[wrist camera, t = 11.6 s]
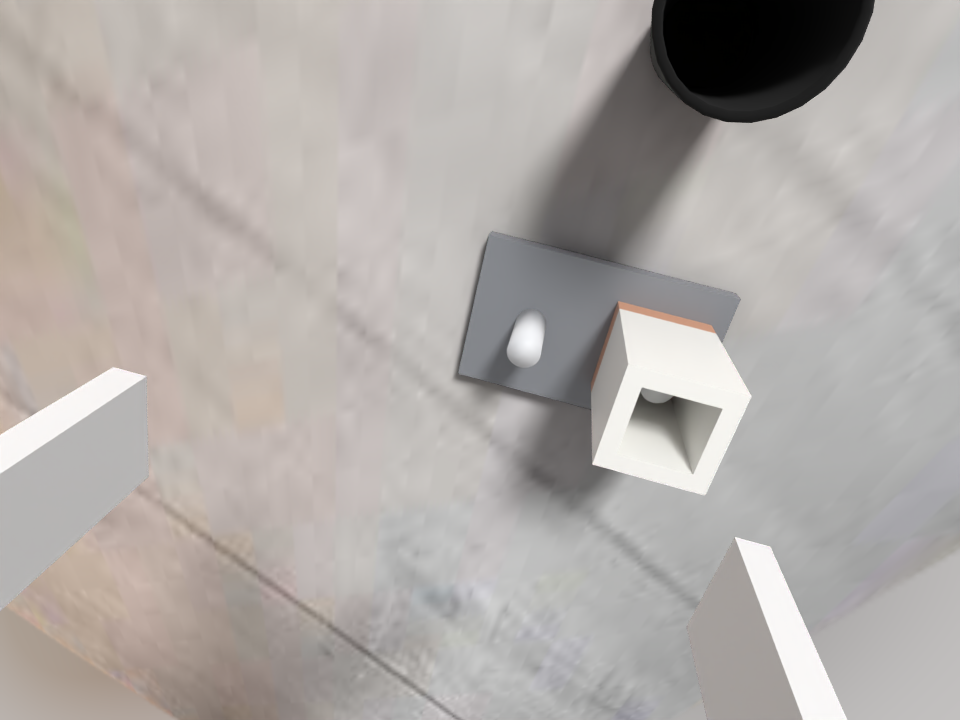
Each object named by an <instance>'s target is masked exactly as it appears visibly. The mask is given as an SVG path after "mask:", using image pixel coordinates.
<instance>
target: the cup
mask: <svg viewBox="0 0 960 720" xmlns="http://www.w3.org/2000/svg"><path fill="white" fill-rule="evenodd" d="M874 2H875V0H654V3H653V8H652V22H651V42H650V54H651V58H652V63H653V66H654V68H655V70H656V72H657V74H658V76H659V78H660V79H661V80H662V81H663V82H664V83H665V84H666V85H667V86H668V87H669V88H670V89H671V90H672V91H673V92H674V93H675V94H676V95H677V96H678V97H679V98H680V99H681V100H682V101H683V102H684V103H685V104H687V105H689V106H690V107H692V108H693V109H695V110H696V111H698V112H700V113H701V114H703V115H705V116H708V117H712V118H715V119H718V120H721V121H725V122H741V123H753V122H757V121H762V120H767V119H772V118H777V117H779V116H781V115H783V114H786V113H788V112H790V111H792V110H794V109H797V108H799V107H801V106H803V105H804V104H805V103H807V102H808V101H810V100H811V99H812V98H814V97H815V96H817V95H818V94H819V93H821V92H822V91H823V90H825V89H826V88H827V87H828V86H829V85H830V84H831V82H832V81H833V80H834V79H835V78H836V77H837V76H838V75H839V74H840V73H841V72H842V71H843V70H844V68H845V67H846V66H847V64H848V63H849V61H850V60H851V58H852V56H853V55H854V53H855V52H856V50H857V48H858V47H859V45H860V43H861V42H862V40H863V37H864V35H865V32H866V29H867V27H868V24H869V21H870V19H871V16H872V13H873V9H874Z"/></svg>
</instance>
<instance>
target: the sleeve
mask: <svg viewBox="0 0 960 720" xmlns="http://www.w3.org/2000/svg"><path fill="white" fill-rule="evenodd" d="M642 387H643V388H647V389H650V390H654V391H658V392H662V393H665V394H669V395H673V397H672V398H671V399H670V400H668V401H666V402H664V403H652V402H649V401H647V400H646V399H645V398H644V397H643V396H642V394H641V388H642ZM751 397H752V396H751V395H750V393H749V391H748V389H747V387H746V386H745V384H744V382H743V380H742V379H741V377H740V375H739V373H738V371H737V370H736V368H735V366H734V364H733V363H732V361H731V359H730V357H729V355H728V354H727V352H726V350H725V348H724V347H723V345H722V343H721V341H720V339H719V338H718V336H717V334H716V332H715V331H714V329H713V327H712V325H709V324H705V323H701V322H697V321H693V320H689V319H686V318H682V317H678V316H674V315H670V314H666V313H662V312H658V311H655V310H651V309H647V308H643V307H639V306H635V305H631V304H627V303H624V302H620V301H618V303H617V306H616V309H615V312H614V315H613V318H612V321H611V324H610V327H609V330H608V333H607V336H606V339H605V342H604V345H603V348H602V351H601V354H600V357H599V360H598V363H597V366H596V369H595V372H594V375H593V378H592V381H591V419H592V464H593V465H596V466H600V467H603V468H607V469H611V470H614V471H618V472H622V473H625V474H629V475H632V476H636V477H640V478H643V479H647V480H651V481H654V482H658V483H661V484H665V485H669V486H672V487H676V488H680V489H683V490H687V491H690V492H694V493H698V494H701V495H706V492H707V490H708V488H709V486H710V484H711V482H712V480H713V478H714V475H715V473H716V471H717V469H718V467H719V465H720V463H721V461H722V458H723V456H724V454H725V452H726V450H727V448H728V446H729V444H730V441H731V439H732V437H733V435H734V433H735V431H736V429H737V427H738V424H739V422H740V420H741V418H742V416H743V414H744V412H745V410H746V407H747V405H748V403H749V401H750V399H751Z"/></svg>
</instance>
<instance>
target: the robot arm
mask: <svg viewBox="0 0 960 720" xmlns="http://www.w3.org/2000/svg"><path fill="white" fill-rule="evenodd" d="M147 477H149V476H148V425H147V376H144V375H140V374H137V373H133V372H129V371H126V370H122V369H118V368H115V367H113V368H111V369H109V370H108V371H106V372H104V373H103V374H101V375H99V376H98V377H96V378H94V379H93V380H91V381H89V382H88V383H86V384H84V385H83V386H81V387H79V388H78V389H76V390H74V391H73V392H71V393H69V394H68V395H66V396H64V397H63V398H61V399H59V400H58V401H56V402H54V403H53V404H51V405H49V406H47V407H46V408H44V409H42V410H41V411H39V412H37V413H36V414H34V415H32V416H31V417H29V418H27V419H26V420H24V421H22V422H21V423H19V424H17V425H16V426H14V427H12V428H11V429H9V430H7V431H6V432H4V433H2V434H1V435H0V611H1V610H2V609H3V608H4V607H5V606H6V605H8V604H9V603H10V602H11V601H12V600H13V599H14V598H15V597H16V596H17V595H19V594H20V593H21V592H22V591H23V590H24V589H25V588H26V587H27V586H28V585H30V584H31V583H32V582H33V581H34V580H35V579H36V578H37V577H38V576H39V575H41V574H42V573H43V572H44V571H45V570H46V569H47V568H48V567H49V566H51V565H52V564H53V563H54V562H55V561H56V560H57V559H58V558H59V557H60V556H62V555H63V554H64V553H65V552H66V551H67V550H68V549H69V548H70V547H71V546H73V545H74V544H75V543H76V542H77V541H78V540H79V539H80V538H81V537H82V536H84V535H85V534H86V533H87V532H88V531H89V530H90V529H91V528H92V527H93V526H95V525H96V524H97V523H98V522H99V521H100V520H101V519H102V518H103V517H104V516H106V515H107V514H108V513H109V512H110V511H111V510H112V509H113V508H114V507H115V506H117V505H118V504H119V503H120V502H121V501H122V500H123V499H124V498H125V497H126V496H128V495H129V494H130V493H131V492H132V491H133V490H134V489H135V488H136V487H138V486H139V485H140V484H141V483H142V482H143V481H144V480H145V479H146V478H147ZM687 630H688V635H689V640H690V644H691V649H692V653H693V658H694V662H695V667H696V671H697V676H698V680H699V685H700V689H701V694H702V698H703V703H704V708H705V712H706V717H707V720H847V718H846V716H845V714H844V712H843V709H842V707H841V705H840V703H839V700H838V698H837V696H836V694H835V691H834V689H833V687H832V685H831V682H830V680H829V678H828V676H827V673H826V671H825V669H824V667H823V664H822V662H821V660H820V658H819V655H818V653H817V651H816V649H815V647H814V644H813V642H812V640H811V637H810V635H809V633H808V631H807V628H806V626H805V624H804V622H803V619H802V617H801V615H800V613H799V610H798V608H797V606H796V604H795V601H794V599H793V597H792V595H791V592H790V590H789V588H788V586H787V583H786V581H785V579H784V577H783V574H782V572H781V570H780V568H779V565H778V563H777V561H776V559H775V556H774V554H773V552H772V550H771V547H769V546H766V545H762V544H758V543H755V542H751V541H747V540H744V539H740V538H736V537H735V538H734V540H733V541H732V543H731V545H730V547H729V549H728V551H727V553H726V554H725V556H724V558H723V560H722V562H721V564H720V566H719V567H718V569H717V571H716V573H715V575H714V577H713V579H712V580H711V582H710V584H709V586H708V588H707V590H706V591H705V593H704V595H703V597H702V599H701V601H700V603H699V604H698V606H697V608H696V610H695V612H694V614H693V616H692V617H691V619H690V621H689V623H688V625H687Z"/></svg>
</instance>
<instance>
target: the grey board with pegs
mask: <svg viewBox="0 0 960 720" xmlns="http://www.w3.org/2000/svg"><path fill="white" fill-rule="evenodd" d="M740 300H741V299H740V298H739V296H738V295H737V294H736V293H733V292H729V291H725V290H721V289H717V288H713V287H709V286H705V285H701V284H697V283H693V282H689V281H685V280H681V279H678V278H674V277H670V276H666V275H662V274H658V273H654V272H650V271H646V270H642V269H638V268H634V267H630V266H626V265H622V264H619V263H615V262H611V261H607V260H603V259H599V258H595V257H591V256H587V255H583V254H579V253H575V252H571V251H567V250H563V249H560V248H556V247H552V246H548V245H544V244H540V243H536V242H532V241H528V240H524V239H520V238H516V237H512V236H508V235H505V234H501V233H497V232H493V231H492V232H491V233H490V234H489V237H488V242H487V246H486V251H485V255H484V260H483V264H482V269H481V273H480V278H479V282H478V286H477V291H476V295H475V300H474V304H473V309H472V313H471V318H470V322H469V327H468V331H467V336H466V340H465V345H464V349H463V354H462V358H461V363H460V367H459V372H458V374H461V375H465V376H469V377H472V378H476V379H480V380H483V381H487V382H491V383H495V384H498V385H502V386H506V387H509V388H513V389H517V390H521V391H524V392H528V393H532V394H535V395H539V396H543V397H546V398H550V399H554V400H558V401H561V402H565V403H569V404H572V405H576V406H580V407H583V408H587V409H591V381H592V378H593V375H594V372H595V369H596V366H597V363H598V360H599V357H600V354H601V351H602V348H603V345H604V342H605V339H606V336H607V333H608V330H609V327H610V324H611V321H612V318H613V315H614V312H615V309H616V306H617V303H618V301H620V302H624V303H627V304H631V305H635V306H639V307H643V308H647V309H651V310H655V311H658V312H662V313H666V314H670V315H674V316H678V317H682V318H686V319H689V320H693V321H697V322H701V323H705V324H709V325H712V327H713V329H714V331H715V332H716V334H717V336H718V338H719V339H720V341H721V343H722V342H723V339H724V337H725V335H726V332H727V330H728V328H729V325H730V323H731V321H732V318H733V316H734V314H735V311H736V309H737V307H738V304H739V302H740ZM641 394H642V396H643V397H644V398H645V399H646V400H647V401H649V402H652V403H664V402H666V401H668V400H670V399H671V398H672V397H673V395H669V394H665V393H662V392H658V391H654V390H650V389H647V388H643V387H642V388H641Z"/></svg>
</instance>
